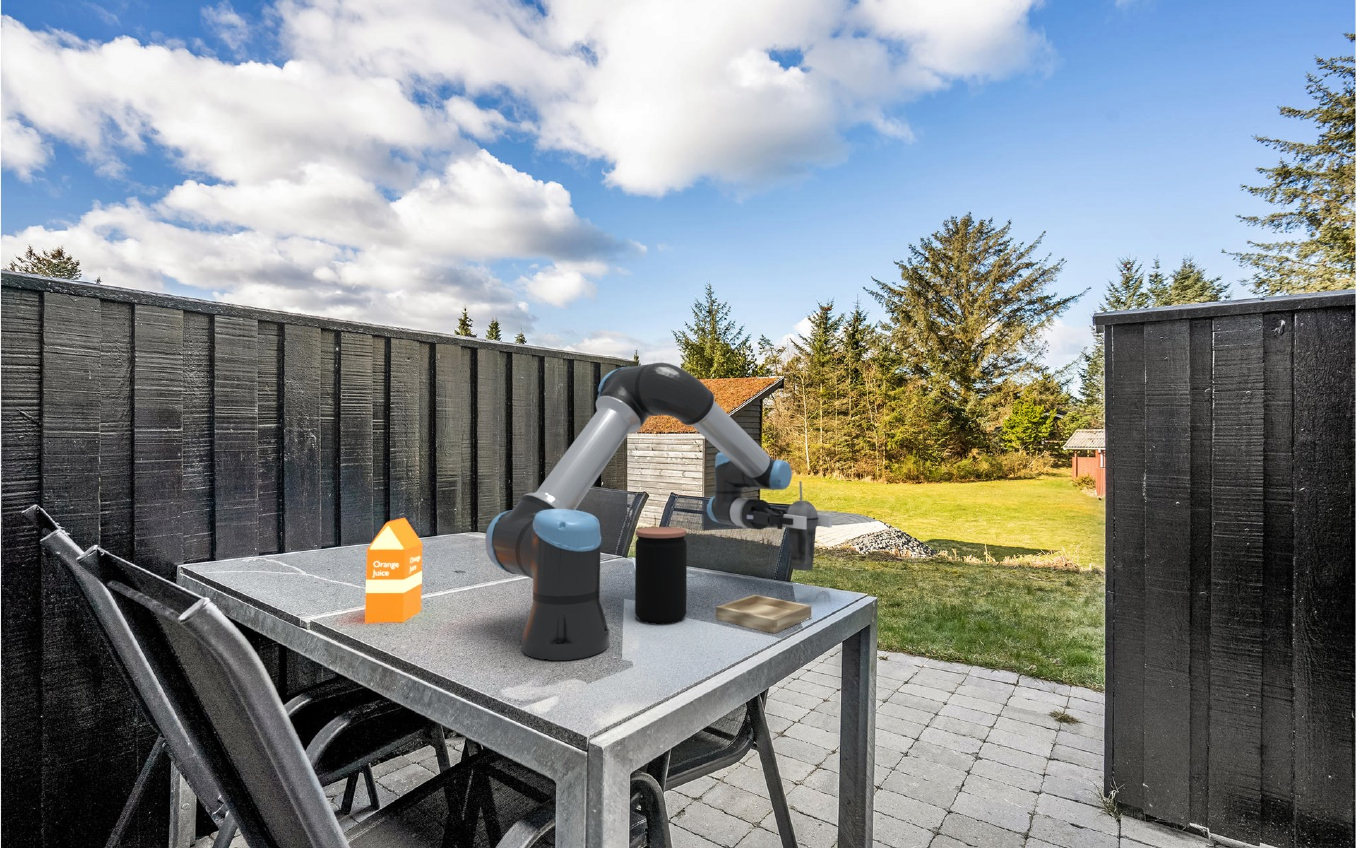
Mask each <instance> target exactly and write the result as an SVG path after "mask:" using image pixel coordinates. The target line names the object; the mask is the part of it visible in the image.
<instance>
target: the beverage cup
mask: <svg viewBox="0 0 1356 848" xmlns="http://www.w3.org/2000/svg"><path fill="white" fill-rule="evenodd" d="M798 482H799V483H798V485H799V500H796V501H794V502H792V503H791V504H790V506H789V507H788V512H787V515H795V516H803V517H807V529H798V528H791V527H787V528H788V537H789V540H788V541H789V550H790V561H791V569H792V570H795V571H812V570H813V563H814V557H815V547H816V546H815V543H816V532H817V527H818V526H817V522H818V515H817V514H818V511H817V509H816V507H815V506H814V505H813V503H812V502H810V501H808V500H803V489H802V488H803V487H802V486H803V484H802V480H800V481H798Z"/></svg>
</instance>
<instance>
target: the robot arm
mask: <svg viewBox="0 0 1356 848" xmlns="http://www.w3.org/2000/svg"><path fill="white" fill-rule="evenodd" d="M597 392H598V395H597V399H596V401H595V407H596V412H595V413H594V415H593V416H592V417H591V419H590V420H589V421H588V423H586V425H585V427H584V428H583V429H582V431H581V432H580V433H579V435H578V436H577V437H576V439H574V441H573V442H572V444H571V445H570V446H569V447H568V449H567V450H566V452H565V453H564V454H563V456H562V457H561V458H560V460H558V462H557V463H556V465H554V468H553V469H551V472H550V473H549V474H548V476H547V477H545V479H544V481H543V482H542V484H541V485H540V486H539V488H538V489H537V490H536V491H535V492H530V493H525V494H523V496H522V497H521V498H520V500H519V501H518V503H517V504H516V505H515V506H514V507H513V508H512V510H506V511H504V512H501V513H499V514H498V515H496V516H495V517H494V518H493V520H491V522H490V524H489V525H488V527H487V530H486V533H485V538H484V539H485V540H484V541H485V550H486V554H487V555H488V558H489V559H490V561H491V562H492V563H493V564H494V565H495V566H496V567H497V568H500V569H501V570H503V571H505V573H506V572H507V573H508V574H509V573H510V574H512V575H520V576H524V577H527V578H530V579H532V605H531V607H530V611H529V614H528V616H527V620H526V624H525V627H524V631H523V632H522V636H521V651H522V653H523V654H524V655H526V654H527V655H526V656H528V655H529V656H528V657H530V656H531V658H534V657H535V659H538V658H539V660H544V659H548V660H547V661H569V660H577V659H583V658H585V659H586V658H588V657H592V656H596V655H598V654H600V653H602V652H604V651H605V650H607V649H608V648H609V646H610V630H609V627H608V623H607V621H606V617H605V613H604V610H603V607H602V604H601V597H600V596H601V593H600V592H601V581H600V580H601V550H602V549H601V547H602V545H601V544H602V535H601V527H600V526H601V525H600V521H599V519H598V518H597V517H596V516H595V515H593V514H592V513H589V512H586V511H582V510H577V509H578V507H579V505H580V504H581V502H582V501H583V500H584V498H585V497H586V495H587V494H588V493H589V491H590V489H591V487H592V486H594V484H595V482H596V481H597V479H598V478H599V477H600V476H601V473H602V472H603V470H604V469H605V468H606V466H607V464H609V462H610V461H611V459H612V458H613V456H614V455H615V453H616V452H617V450H618V449H619V448H620V447H621V445H622V443H623V442H624V440H625V439H626V437H627V436H628V435H629V434H634V433H637V432H638V431H640V429H641V428H642V427H643V425H644V423H645V422H646V420H647V419H648V418H650V417H654V416H656V417H657V416H668V417H671V418H674V419H677V420H678V421H680V423H682V424H683V425H684V426H688V427H689V426H690V427H693V428H694V429H695V430H696V431H697V432H698V433H699V434H700V435H702V436H703V438H704V439H706V440H707V441H708V442H709V443H711V444H712V446H714V447H715V448H716V449H717V451H718V450H719V451H718V452H717V454H716V455H715V465H714V496H712V497H711V498H710V499H709V500H708V504H706V512H707V515H708V517H709V519H711V521H713V522H715V523H719V524H721V525H727V526H728V525H729V526H734V527H735V526H736V527H742V530H747V528H749V529H753V530H764V529H766V528H767V527H769V526H770V527H774V526H777V527H776V529H777V530H783V527H786V528H788V527H791V528H798V529H807V517H803V516H795V515H787V512H788V509H789V508H788V509H787V508H777V507H775V506H773V507H771V505H770V503H769V502H767V501H766V500H764V499H760V498H759V499H758V498H751V497H743V489H755V490H756V489H758V490H769V491H770V490H771V491H780V490H782V491H783V490H786V489H787V488H788V487H789V486H790V484H791V481H792V477H793V471H792V467H791V465H790V463H789V462H787V461H786V460H783V459H773V458H772V457H771V456H770V455H769V454H768V453H767V452H766V451H765V450H764V449H763V448H762V447H761V446H760V445H759V444H758V443H757V442H756V441H755V440H754V439H753V438H752V437H751V436H750V435H749V434H748V433H747V432H746V431H745V430H744V429H743V428H742V427H741V426H740V425H739V424H738V423H737V422H736V421H735V420H734V419H733V418H732V417H731V416H730V415H729V414H728V413H727V412H726V411H725V410H724V409H723V408H722V407H721V405H719V404H718V403H717V401H716V400H715V394H714V393H713V392H712V391H711V390H710V389H709V388H708V387H707V386H706V385H705V384H704V383H703V382H702V381H701V380H700V379H698V378H697V377H695V376H693V374H691V373H690V372H689V371H686V370H685V369H683V368H682V367H681V368H680V367H679V366H677V365H674V364H671V363H668V362H653V363H648V364H641V365H632V366H623V367H619V368H617V369H614V370H611V371H610V372H608V373H607V374H605V375H604V376H603V378H602V379H601V381H600V383H599V386H598V389H597ZM817 515H818V522H817V527H823V528H833V522H832V521H833V519H832V517H833V515H831V514H823V513H817Z"/></svg>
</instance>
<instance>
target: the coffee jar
mask: <svg viewBox="0 0 1356 848" xmlns="http://www.w3.org/2000/svg"><path fill="white" fill-rule="evenodd" d="M635 535H636V537H637V540H635V546H634V547H635V550H634V551H635V555H634V556H635V557H634V558H635V563H634V564H635V573H634V578H635V580H634V582H635V583H634V585H635V586H634V589H635V590H634V592H635V593H634V594H635V595H634V600H635V601H634V614H635V617H637V619H638V620H639V621H640V622H642V623H644V624H650V625H671V624H676V623H680V622H681V621H683V620H684V618H685V616H686V615H687V592H688V591H687V586H688V585H687V582H688V581H687V578H688V577H687V571H688V567H687V566H688V565H687V557H688V555H687V553H688V552H687V546H688V544H687V542H686V541H687V540H686V539H685V537H686V535H687V529H685V528H681V527H675V526H674V527H673V526H649V527H641V528H638V529H635Z"/></svg>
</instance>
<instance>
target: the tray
mask: <svg viewBox="0 0 1356 848" xmlns="http://www.w3.org/2000/svg"><path fill="white" fill-rule="evenodd" d="M810 617H811V618H812V605H809V604H805V603H800V602H799V603H798V602H794V601H789V600H784V599H779V598H774V597H768V596H764V595H759V594H753V595H750V596H749V595H748V596H746V597H743V598H739V599H737V600H733V601H731V602H727V603H724V604H721V605H717V606H715V619H716V620H717V621H718V620H719V621H721V622H722V621H723V622H727V623H730V624H735V625H738V626H743V627H745V628H751V629H754V630H759V631H763V632H766V633H770V634H776V633H779V632H781V631H784V630H786V629H789V628H791V627H794V626H796V625H797V624H796V623H798V624H800V622H801V621H803V622H805V621H807V620H806V619H807V618H810ZM811 618H810V619H811ZM804 620H805V621H804ZM801 623H802V622H801ZM795 624H796V625H795ZM790 626H791V627H790ZM785 628H786V629H785ZM780 630H781V631H780Z"/></svg>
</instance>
